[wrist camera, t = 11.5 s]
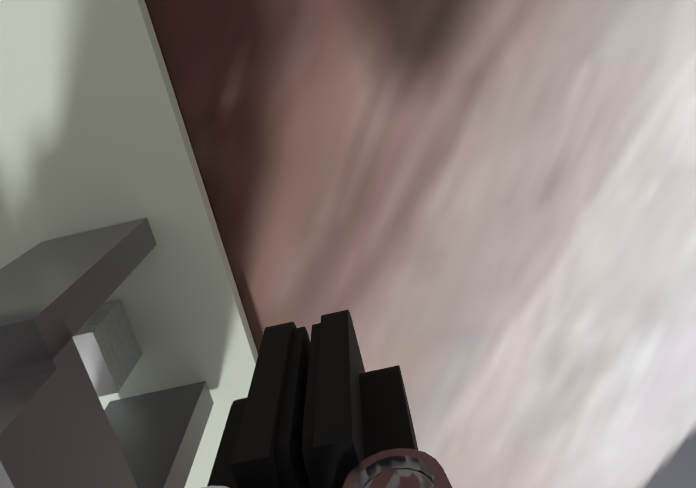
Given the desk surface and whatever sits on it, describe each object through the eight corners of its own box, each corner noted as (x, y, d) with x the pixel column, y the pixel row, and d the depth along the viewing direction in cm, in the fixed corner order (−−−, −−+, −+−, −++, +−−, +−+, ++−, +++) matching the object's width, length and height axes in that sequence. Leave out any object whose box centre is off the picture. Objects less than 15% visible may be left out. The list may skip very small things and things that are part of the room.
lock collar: (119, 422, 18) (-50, 713, 10) (41, 241, 16) (-242, 428, 8) (213, 403, 17) (116, 682, 10) (146, 217, 16) (-40, 384, 8)
